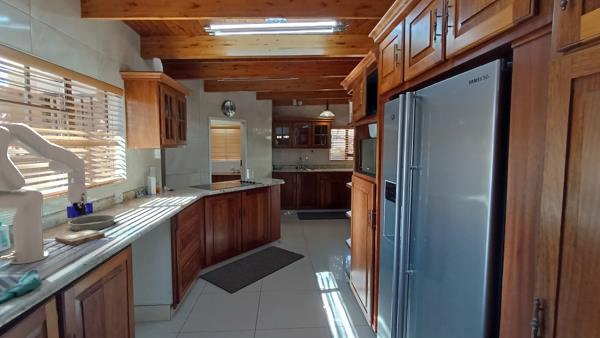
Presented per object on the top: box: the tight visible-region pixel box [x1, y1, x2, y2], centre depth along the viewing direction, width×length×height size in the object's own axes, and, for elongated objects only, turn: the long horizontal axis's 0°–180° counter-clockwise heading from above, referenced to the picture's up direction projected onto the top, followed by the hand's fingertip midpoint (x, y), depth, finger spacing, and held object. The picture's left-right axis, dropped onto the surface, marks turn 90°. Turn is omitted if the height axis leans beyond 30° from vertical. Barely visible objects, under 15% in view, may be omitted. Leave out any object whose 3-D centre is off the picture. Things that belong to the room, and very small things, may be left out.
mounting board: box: [54, 230, 106, 246], centre depth 161 cm, size 16×16×2 cm
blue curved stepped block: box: [66, 201, 94, 219], centre depth 160 cm, size 12×4×6 cm, turn 167°
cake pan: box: [67, 214, 117, 232], centre depth 187 cm, size 25×25×4 cm
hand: (79, 213), depth 160 cm, fingers closed on blue curved stepped block, 5 cm apart
